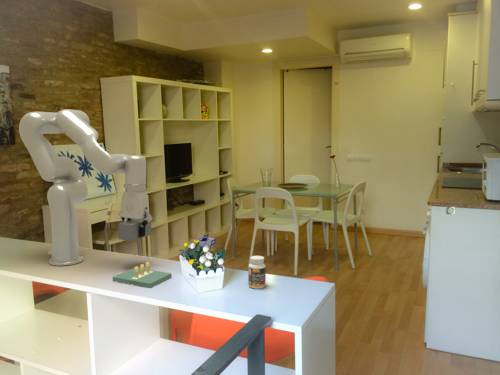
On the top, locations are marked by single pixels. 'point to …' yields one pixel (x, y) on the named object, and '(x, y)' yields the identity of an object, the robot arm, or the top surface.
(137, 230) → the block
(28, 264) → the top surface
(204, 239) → the ink cartridge box
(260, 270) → the pill bottle
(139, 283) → the board
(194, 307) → the top surface
